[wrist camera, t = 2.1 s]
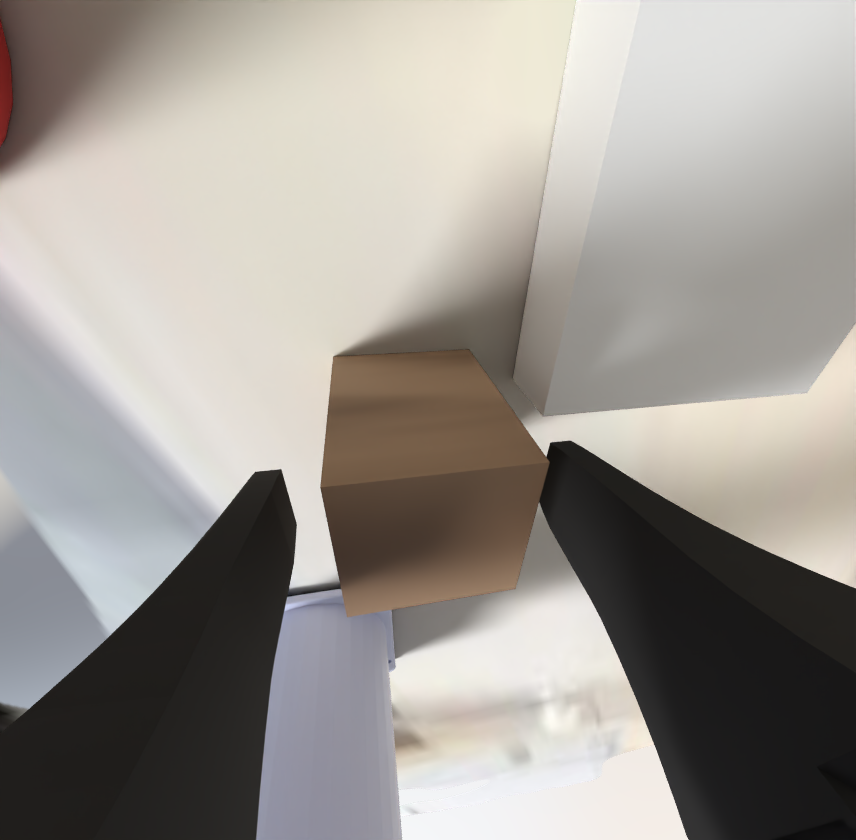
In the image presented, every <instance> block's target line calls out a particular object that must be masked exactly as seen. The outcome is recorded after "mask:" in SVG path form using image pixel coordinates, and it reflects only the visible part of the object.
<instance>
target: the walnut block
mask: <svg viewBox="0 0 856 840" xmlns="http://www.w3.org/2000/svg"><path fill="white" fill-rule="evenodd" d="M549 463H550V462H549V461H548V459H547V458H546V456H545V455H544V454H543V452H542V451H541V449H540V448H539V447H538V445H537V444H536V442H535V441H534V440H533V438H532V437H531V435H530V434H529V433H528V431H527V430H526V428H525V427H524V426H523V424H522V423H521V421H520V420H519V419H518V417H517V416H516V414H515V413H514V412H513V410H512V409H511V407H510V406H509V405H508V403H507V402H506V400H505V399H504V398H503V396H502V395H501V393H500V392H499V391H498V389H497V388H496V386H495V385H494V384H493V382H492V381H491V379H490V378H489V377H488V375H487V374H486V372H485V371H484V370H483V368H482V367H481V365H480V364H479V363H478V361H477V360H476V358H475V357H474V356H473V354H472V353H471V351H470V350H469V349H466V350H447V351H429V352H410V353H391V354H372V355H354V356H335V357H333V364H332V375H331V385H330V395H329V405H328V415H327V426H326V436H325V446H324V456H323V467H322V477H321V487H320V488H321V493H322V498H323V502H324V507H325V512H326V517H327V522H328V527H329V532H330V537H331V542H332V546H333V551H334V556H335V561H336V566H337V571H338V576H339V581H340V586H341V590H342V595H343V600H344V605H345V610H346V615H347V617H352V616H358V615H364V614H370V613H376V612H381V611H387V610H393V609H399V608H405V607H411V606H417V605H423V604H429V603H435V602H440V601H446V600H452V599H458V598H464V597H470V596H476V595H482V594H488V593H494V592H500V591H505V590H511V589H515V588H516V584H517V581H518V577H519V573H520V570H521V566H522V562H523V559H524V555H525V551H526V548H527V544H528V540H529V537H530V533H531V529H532V525H533V522H534V518H535V514H536V511H537V507H538V503H539V500H540V496H541V492H542V489H543V485H544V481H545V477H546V474H547V470H548V466H549Z"/></svg>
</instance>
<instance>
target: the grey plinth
mask: <svg viewBox="0 0 856 840" xmlns="http://www.w3.org/2000/svg"><path fill="white" fill-rule="evenodd" d="M855 323H856V0H576V5H575V11H574V17H573V23H572V29H571V35H570V41H569V47H568V53H567V59H566V65H565V71H564V77H563V83H562V89H561V95H560V101H559V107H558V113H557V119H556V124H555V130H554V136H553V142H552V148H551V154H550V160H549V166H548V172H547V178H546V184H545V190H544V196H543V202H542V208H541V214H540V220H539V226H538V232H537V238H536V244H535V249H534V255H533V261H532V267H531V273H530V279H529V285H528V291H527V297H526V303H525V309H524V315H523V321H522V327H521V333H520V339H519V345H518V351H517V357H516V363H515V369H514V375H513V381H514V382H515V383H516V384H517V385H518V387H519V388H520V389H521V390H522V391H523V393H524V394H525V395H526V396H527V398H528V399H529V400H530V401H531V402H532V404H533V405H534V406H535V407H536V409H537V410H538V411H539V412H540V413H541V415H542V416H552V415H563V414H575V413H586V412H597V411H609V410H620V409H632V408H643V407H654V406H666V405H677V404H688V403H700V402H711V401H723V400H734V399H745V398H757V397H768V396H779V395H791V394H802V393H807V392H808V391H809V389H810V388H811V386H812V385H813V383H814V382H815V381H816V379H817V378H818V376H819V375H820V373H821V372H822V371H823V369H824V368H825V366H826V365H827V363H828V362H829V361H830V359H831V358H832V356H833V355H834V353H835V352H836V350H837V349H838V348H839V346H840V345H841V343H842V342H843V340H844V339H845V338H846V336H847V335H848V333H849V332H850V330H851V329H852V328H853V326H854V325H855Z"/></svg>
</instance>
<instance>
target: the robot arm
mask: <svg viewBox="0 0 856 840" xmlns="http://www.w3.org/2000/svg"><path fill="white" fill-rule="evenodd" d="M546 458H547V459H548V461H549V462H550V463H549V466H548V470H547V474H546V477H545V481H544V485H543V489H542V492H541V496H540V500H539V503H540V505H541V508H542V510H543V513H544V515H545V518H546V520H547V522H548V524H549V527H550V529H551V531H552V532H553V534H554V536H555V538H556V540H557V541H558V543H559V545H560V547H561V548H562V550H563V552H564V554H565V555H566V557H567V559H568V561H569V562H570V564H571V566H572V568H573V569H574V571H575V573H576V575H577V576H578V578H579V580H580V582H581V583H582V585H583V587H584V588H585V590H586V592H587V594H588V595H589V597H590V599H591V601H592V603H593V604H594V606H595V608H596V610H597V612H598V614H599V616H600V618H601V620H602V622H603V624H604V626H605V629H606V631H607V633H608V635H609V637H610V640H611V642H612V644H613V646H614V648H615V650H616V653H617V655H618V657H619V659H620V662H621V664H622V666H623V669H624V671H625V673H626V676H627V678H628V680H629V683H630V685H631V688H632V690H633V692H634V695H635V697H636V699H637V702H638V704H639V707H640V709H641V712H642V714H643V717H644V720H645V722H646V725H647V727H648V730H649V732H650V735H651V737H652V740H653V742H654V745H655V747H656V750H657V753H658V755H659V758H660V761H661V764H662V766H663V769H664V772H665V775H666V778H667V781H668V783H669V786H670V789H671V791H672V794H673V797H674V800H675V803H676V806H677V809H678V812H679V815H680V818H681V820H682V823H683V826H684V829H685V832H686V835H687V837H688V839H689V840H856V588H853V587H850V586H848V585H845V584H843V583H840V582H838V581H835V580H833V579H830V578H828V577H825V576H823V575H820V574H818V573H816V572H813V571H811V570H809V569H806V568H804V567H802V566H799V565H797V564H795V563H792V562H790V561H788V560H786V559H783V558H781V557H779V556H776V555H774V554H772V553H770V552H767V551H765V550H763V549H761V548H759V547H757V546H754V545H752V544H750V543H748V542H746V541H744V540H742V539H740V538H738V537H736V536H734V535H732V534H730V533H728V532H726V531H724V530H722V529H720V528H718V527H716V526H714V525H712V524H710V523H708V522H706V521H704V520H702V519H701V518H699V517H697V516H695V515H693V514H691V513H690V512H688V511H686V510H684V509H683V508H681V507H679V506H677V505H676V504H674V503H672V502H670V501H668V500H667V499H665V498H663V497H662V496H660V495H658V494H657V493H655V492H653V491H652V490H650V489H648V488H647V487H645V486H643V485H642V484H640V483H638V482H637V481H635V480H634V479H632V478H630V477H629V476H627V475H626V474H624V473H622V472H621V471H619V470H618V469H616V468H615V467H613V466H611V465H610V464H608V463H607V462H605V461H604V460H602V459H600V458H599V457H597V456H596V455H594V454H592V453H591V452H589V451H588V450H586V449H584V448H583V447H581V446H579V445H577V444H576V443H574V442H572V441H562V442H552V443H550V446H549V450H548V454H547V457H546ZM296 528H297V524H296V520H295V516H294V513H293V509H292V506H291V502H290V499H289V495H288V492H287V488H286V485H285V481H284V477H283V474H282V470H281V469H280V470H270V471H260V472H255V473H254V474H253V475H252V476H251V477H250V479H249V480H248V481H247V482H246V484H245V485H244V486H243V488H242V489H241V490H240V491H239V493H238V494H237V495H236V497H235V498H234V499H233V500H232V502H231V503H230V504H229V505H228V507H227V508H226V509H225V510H224V512H223V513H222V514H221V515H220V517H219V518H218V519H217V520H216V522H215V523H214V524H213V525H212V526H211V528H210V529H209V530H208V531H207V532H206V534H205V535H204V536H203V537H202V538H201V540H200V541H199V542H198V543H197V544H196V546H195V547H194V548H193V549H192V550H191V551H190V553H189V554H188V555H187V556H186V557H185V558H184V559H183V560H182V561H181V563H180V564H179V565H178V566H177V567H176V568H175V569H174V570H173V571H172V573H171V574H170V575H169V576H168V577H167V578H166V579H165V580H164V581H163V582H162V584H161V585H160V586H159V587H158V588H157V589H156V590H155V591H154V592H153V593H152V594H151V595H150V596H149V597H148V598H147V599H146V600H145V602H144V603H143V604H142V605H141V606H140V607H139V608H138V609H137V610H136V611H135V612H134V613H133V614H132V615H131V616H130V617H129V618H128V619H127V620H126V621H125V622H124V623H123V624H122V625H121V626H120V627H119V628H118V629H116V630H115V631H114V632H113V633H112V634H111V635H110V636H109V637H108V638H107V639H106V640H105V641H104V642H103V643H102V644H101V645H100V646H99V647H98V648H97V649H96V650H94V651H93V652H92V653H91V654H90V655H89V656H88V657H87V658H86V659H85V660H84V661H82V662H81V663H80V664H79V665H78V666H77V667H76V668H75V669H74V670H73V671H71V672H70V673H69V674H68V675H67V676H66V677H65V678H63V679H62V680H61V681H60V682H59V683H58V684H57V685H56V686H54V687H53V688H52V689H51V690H50V691H49V692H48V693H47V694H46V695H44V696H43V697H42V698H41V699H40V700H39V701H38V702H36V703H35V704H34V705H33V706H32V707H31V708H30V709H29V710H27V711H26V712H25V713H24V714H23V715H22V716H20V717H19V718H18V719H17V720H16V721H15V722H13V723H12V724H11V725H10V726H9V727H7V728H6V729H5V730H4V731H3V732H1V733H0V840H402V833H401V819H400V806H399V795H398V781H397V768H396V755H395V742H394V730H393V717H392V704H391V691H390V678H389V672H391V671H393V670H394V669H395V667H396V666H395V652H394V638H393V624H392V610H387V611H381V612H376V613H370V614H364V615H358V616H352V617H347V615H346V610H345V605H344V600H343V595H342V590H341V589H335V590H329V591H322V592H316V593H309V594H303V595H296V596H290V597H287V595H288V590H289V585H290V580H291V575H292V569H293V564H294V554H295V542H296Z"/></svg>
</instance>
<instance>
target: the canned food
mask: <svg viewBox="0 0 856 840" xmlns="http://www.w3.org/2000/svg"><path fill="white" fill-rule="evenodd" d="M12 105H13V97H12V78H11V60H10V56H9V52H8V48H7V44H6V40H5V36H4V32H3V28H2V24H1V20H0V147H1V145H2V143H3V142H4V140H5V138H6V134H7V129H8V124H9V119H10V115H11V110H12Z"/></svg>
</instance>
